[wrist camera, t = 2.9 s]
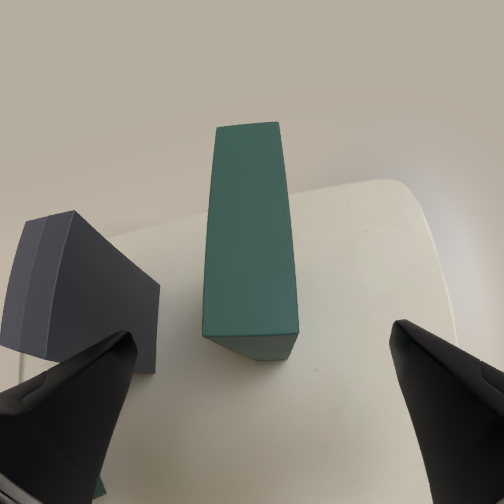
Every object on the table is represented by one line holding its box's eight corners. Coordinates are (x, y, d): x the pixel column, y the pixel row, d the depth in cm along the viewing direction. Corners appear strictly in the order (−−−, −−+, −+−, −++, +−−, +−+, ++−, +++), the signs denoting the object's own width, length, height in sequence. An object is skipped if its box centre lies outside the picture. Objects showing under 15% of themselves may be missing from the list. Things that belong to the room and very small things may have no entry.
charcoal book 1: (130, 371, 18) (19, 351, 8) (108, 367, 18) (-2, 344, 8) (137, 285, 21) (47, 215, 11) (116, 285, 21) (25, 221, 11)
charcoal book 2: (155, 373, 18) (45, 359, 8) (130, 370, 18) (18, 351, 8) (160, 284, 21) (74, 209, 11) (136, 285, 21) (47, 215, 11)
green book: (288, 359, 17) (299, 333, 6) (255, 360, 18) (201, 337, 6) (283, 264, 20) (278, 120, 9) (253, 265, 21) (216, 126, 9)
